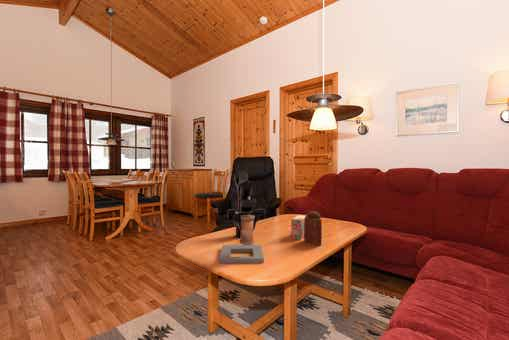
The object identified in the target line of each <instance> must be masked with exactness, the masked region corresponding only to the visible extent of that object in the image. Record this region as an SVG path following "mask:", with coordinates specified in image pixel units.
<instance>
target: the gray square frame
mask: <svg viewBox="0 0 509 340" xmlns="http://www.w3.org/2000/svg"><path fill="white" fill-rule="evenodd" d="M262 248H263V247H262V245H261V244H252V245H242V244H222V246H221V251H220V255H219V260H218V261H219V264H264V263H265V257H264V253H263V250H262ZM233 253H236V254H237V253H252V256H231V254H233Z"/></svg>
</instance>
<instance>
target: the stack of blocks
mask: <svg viewBox="0 0 509 340" xmlns="http://www.w3.org/2000/svg"><path fill="white" fill-rule="evenodd" d="M305 216H306V215H302V214H301V215H300V214H298V215H296V216H294V217H292V218H291V227H290V228H291V229H290V234H291V235H290V239H293V240H298V241H302V240H304V228H305V227H304V220H305Z"/></svg>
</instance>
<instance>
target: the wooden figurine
mask: <svg viewBox="0 0 509 340" xmlns="http://www.w3.org/2000/svg"><path fill="white" fill-rule="evenodd" d="M304 216H305V220H304V227H305V228H304V238H303V241H304V242H305V243H308V244H312V245H314V246H315V245H316V246H322V243H323V242H322V240H323V239H322V238H323V237H322V234H323V233H322V232H323V230H322V229H323V225H322V215H321V214H320V213H319V212H317V211H313V210H312V211H309V212H308V213H307V214H306V215H304Z"/></svg>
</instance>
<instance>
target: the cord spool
mask: <svg viewBox="0 0 509 340" xmlns="http://www.w3.org/2000/svg"><path fill="white" fill-rule="evenodd" d="M254 218H255V216H254V215H249V214H245V215H241V216H240V219H241V238H240V239H239V245H254V243H255V240H254V230H253V224H254Z"/></svg>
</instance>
